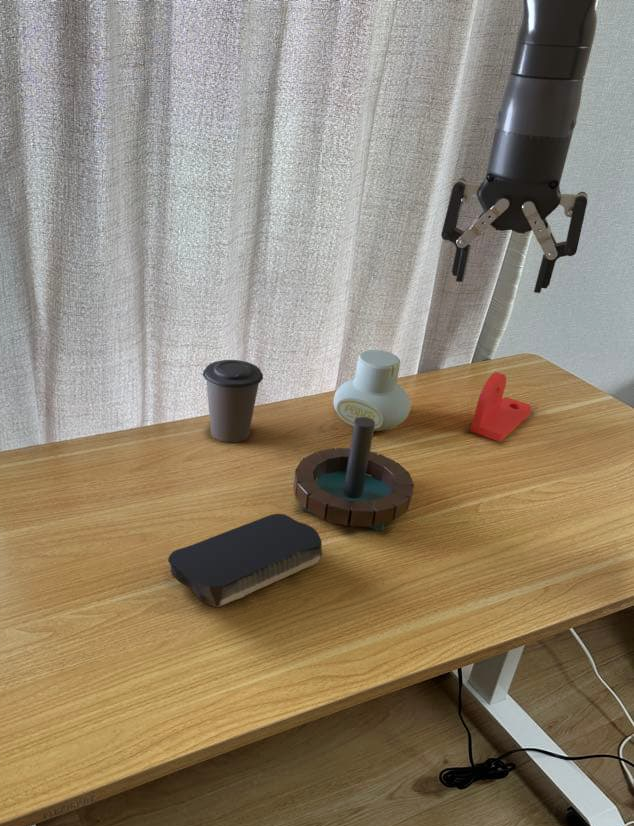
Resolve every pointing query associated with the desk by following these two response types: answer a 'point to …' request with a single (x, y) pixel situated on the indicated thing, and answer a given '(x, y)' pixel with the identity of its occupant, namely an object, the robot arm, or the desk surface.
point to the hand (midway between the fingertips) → (497, 285)
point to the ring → (348, 509)
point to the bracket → (497, 410)
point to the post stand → (356, 470)
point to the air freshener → (374, 392)
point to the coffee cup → (231, 398)
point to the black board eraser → (246, 558)
